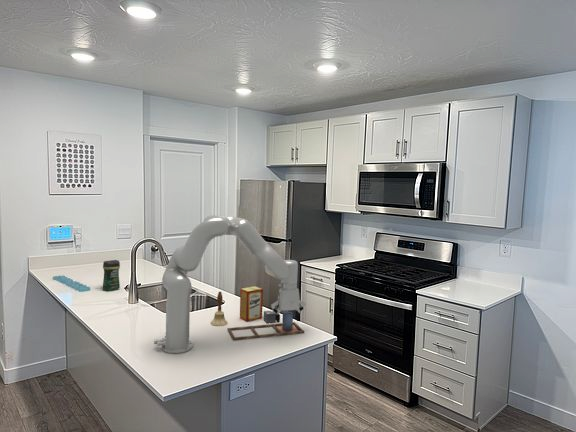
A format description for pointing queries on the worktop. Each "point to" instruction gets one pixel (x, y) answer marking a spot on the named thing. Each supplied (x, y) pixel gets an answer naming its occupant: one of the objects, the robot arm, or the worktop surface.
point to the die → (269, 317)
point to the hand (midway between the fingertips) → (287, 321)
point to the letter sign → (72, 283)
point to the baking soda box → (251, 303)
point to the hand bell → (219, 314)
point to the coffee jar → (111, 275)
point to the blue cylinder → (287, 321)
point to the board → (278, 330)
